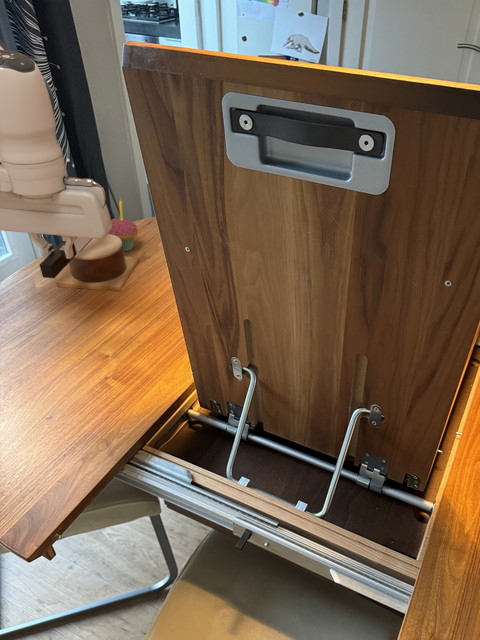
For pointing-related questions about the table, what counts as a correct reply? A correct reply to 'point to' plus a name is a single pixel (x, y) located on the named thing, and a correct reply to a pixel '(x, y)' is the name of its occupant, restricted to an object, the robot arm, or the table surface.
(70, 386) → the table surface
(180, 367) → the table surface
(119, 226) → the cupcake
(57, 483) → the table surface
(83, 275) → the cake
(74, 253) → the knife
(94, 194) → the robot arm
